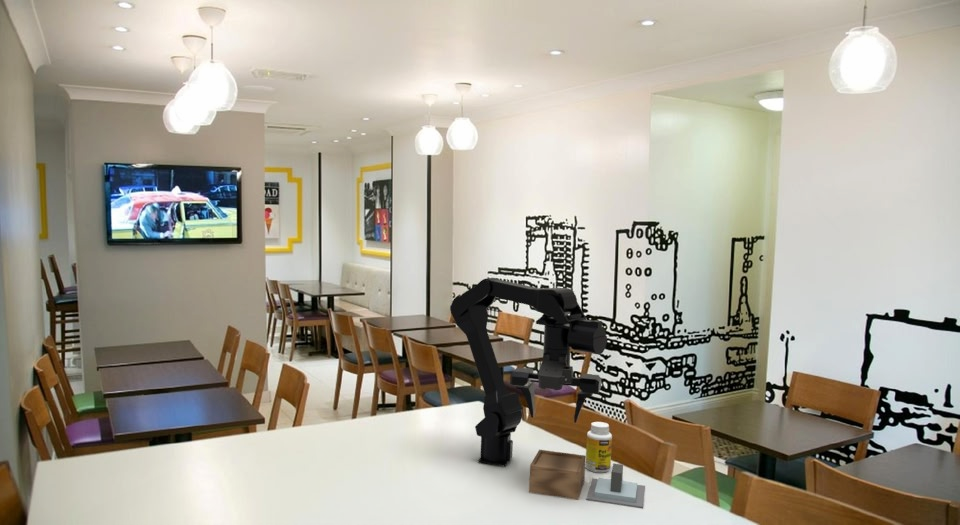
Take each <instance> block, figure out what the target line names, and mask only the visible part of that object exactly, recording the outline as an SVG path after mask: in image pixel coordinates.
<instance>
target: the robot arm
mask: <svg viewBox="0 0 960 525" xmlns="http://www.w3.org/2000/svg"><path fill="white" fill-rule="evenodd" d="M496 298H497V299H501V300H506V301H509V302H510V301H511V302H513V303H518V304H523V305H527V306H529V307H532V308H533V309H535V310H536V311H537V312H538V313H541V314H542V315H541V316H540V318H538V319H537V320H536V321H535V325H539V326H541V325H542V326H544V328H543V329H544V331H543V351H542V352H543V353H542V354H543V356H542V361H541V364H540V366H539V371H538V373H536V372H534V369H533V368H528V367H519V366H518V367H517V368H515V369H514V370H513V371H512V372H511V373H510V377H509V384H510V385H511V386H515V387H516V389H517V390H520V391H521V393H522V394H523V396H524V399H525V401H526V405H527V407H528V411H529V414H530V417H531V418H532V419H533V418H535V410H536V406H535V403H536V401H535V383H538V387H539V389H542V390H546V389H548V390H554V391H561V390H562V389H563V386H569V387H579V388H578V389H579V390H578V393H577V397H576V398H577V399H576V403H575V411H574V416H573V418H574V419H573V423H574V424H575V423H577V422H578V419H579V416H580V413H581V412H582V408H583V405H584V403H585V401H586V399H587V397H589V398H590V397H593V395H594V394H595V395H596V394H600V391H601V388H602V377H601V376H600V375H599V374H592V373H582V375H581V376H580V377H576V376H575V377H574V368H573V367H574V366H571V350H573V351H575V352H582V353H586V354H593V355H597V356H598V355H600V356H601V355H602V354H603V352H604V351H605V349H606V347H607V343H608V336H607V333H606V329H605V328H604V327H603V321H602V320H597V319H596V320H589V319H587V317H586V315H585V313H584V311H583V310H582V308H581V306H580V305H579V303H578V299H577V296H576V294H575V291H574V290H573V289H571V288H567V287H545V288H543V287H541V288H540V287H535V286H530V285H527V284H526V285H525V284H521V283H517V282H513V281H506V280H502V279H500V278H497V277H490V278H483V279H481V280H480V281H479V282H478V283H477V284H475V285H474V286H473V287H471V288H470V289H468V290H466V291H465V292H463V293H462V294H461V295H460V296H459V295H458V296H456V297H454V299H453V300H452V301H451V305H450V307H449V310H450V314H451V316H452V318H453V321H454V323H455V324H456V326H457V327H458V328H459V329H460V331H462V332H463V333H464V334H465V336H466V338H467V339H466V340H467V342H468V345H469V348H470V351H471V354H472V357H473V360H474V364H475V367H476V369H477V370H476V371H477V373H478V376H479V379H480V382H481V386H482V389H483V391H484V392H483V393H484V402H483V406H482V409H483V414H484V415H483V416H484V418H482V419H481V420H480V421H479V422H478V423H477V424H476V425H475V426H474V427H475V433H476V436H478V437H480V438H481V439H480V457H479V459H478V460H477V462H478V463H481V464H487V465H495V466H499V467H500V466H503V467H506V466H507V465H508V464H509V462H510V461H511V460H512V458H513V452H514V451H513V447H514V446H513V445H514V441H513V439H512V438H511V436H512V433H514V432H516V430H517V427H518V426H519V425H520V423H521V422H522V419H523V410H524V407H523V406H522V404H521V402H520V398H519V394H518V393H517V392H512V393H511V391H510V390H508V388H507V386H506V384H505V382H504V378H503V375H502V372H501V370H500V367H499V362H498V361H497V360H498V359H497V358H496V355H495V351H494V349H493V345H492V342H491V339H490V336H489V333H488V330H487V326H488V319H489V313H488V308H490V307H491V306H492V305H493V304H494V302H495V300H496Z"/></svg>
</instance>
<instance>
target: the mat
mask: <svg viewBox="0 0 960 525" xmlns="http://www.w3.org/2000/svg"><path fill="white" fill-rule="evenodd" d="M597 481H598V478H592V479H591V481H590V484H589V485H590V486H589V487H588V488H589V489H588V491H587V495H586V498H585V499H586V501H590V502H591V501H592V502H599V503H605V504H611V505H617V506H618V505H619V506H625V507H631V508H638V509H644V503H645V502H644V501H645V492H646V491H645V489H646V485H642V484H637V493H636V501H635V503H632V502H626V501H619V500H612V499H605V498H599V497H594V493H595V489H596V485H597Z"/></svg>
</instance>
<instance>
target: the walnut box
mask: <svg viewBox="0 0 960 525" xmlns="http://www.w3.org/2000/svg"><path fill="white" fill-rule="evenodd" d="M585 464H586V454H576V453H569V452H560V451H554V450H545V449H538V450H537V453H536V454H535V456H534V458H533V459H532V462H531V463H530V465H529V479H528V480H529V483H528V493H530V492H531V494H536V495H537V494H538V495H545V496H552V497H557V498H564V499H565V498H566V499H573V500H579V499H580V496H581V493H582V490H583V487H584V483H585V475H586V465H585Z"/></svg>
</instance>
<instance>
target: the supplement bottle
mask: <svg viewBox="0 0 960 525" xmlns="http://www.w3.org/2000/svg"><path fill="white" fill-rule="evenodd" d="M586 434H587V435H586V447H585V448H586V449H585V450H586V451H585V456H586V458H585V469H587V470H588V471H591V472H593V473H598V474H599V473H600V474H601V473H607V472H609V471H610V470H611V463H612V462H611V461H612V446H613V443H612V442H613V435H612V433H611V432H610V425H609V423H607V422H603V421H594V422H591V423H590V430H589V431H587V433H586Z"/></svg>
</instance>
